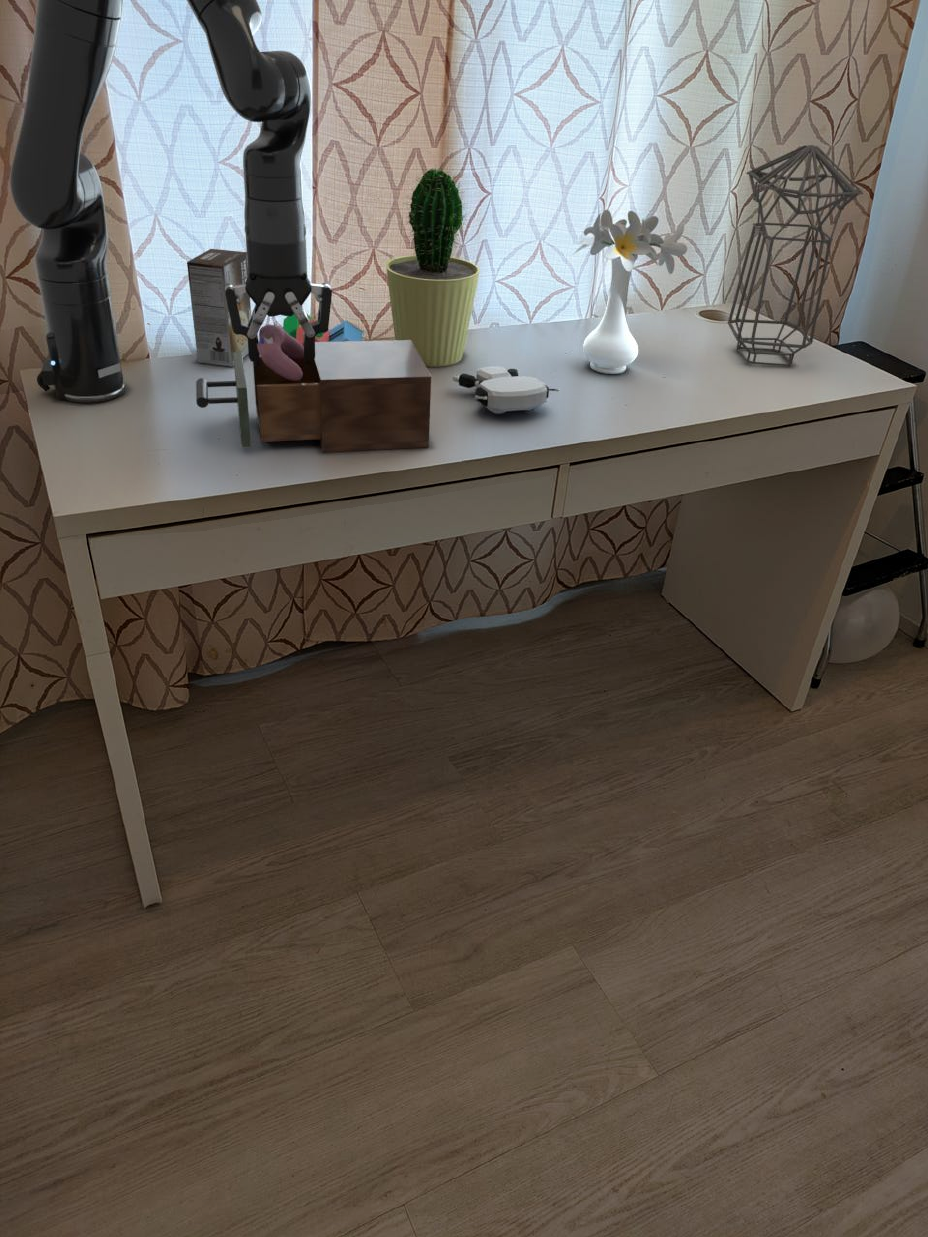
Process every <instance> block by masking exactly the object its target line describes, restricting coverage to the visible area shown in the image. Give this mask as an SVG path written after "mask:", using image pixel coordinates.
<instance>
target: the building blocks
mask: <svg viewBox="0 0 928 1237" xmlns="http://www.w3.org/2000/svg"><path fill="white" fill-rule="evenodd" d="M306 314H307V316H308V318H309V320H310V322H311V323H313V322H316V321H318V318H317V319H316V318H314V316H311V315H310V314H309V313H307V312H306ZM282 328H283V329H284V330H285V331H286V332H287V333H288V334H289V335H290V336H292V337H293V338H294V339H296V340H297V341H298V342H300V343H301V344H302V345H303V347H304V343H303V333H305V332H304V330H303V328H302V326H301V325H300V323H299V321H298V320H297V318H296V316H295V314H294V315H292V316H285V317H284V319H283V322H282ZM364 332H365V331H364V330H363V329H361V328H360V327H359V326H357V325H356V324H354V323H352V322H351V321H349V320H344V321H342V322H340V323H339V324H337V325H335V326H334V327H332V328H331V329H329V328H328V331H327V332H325V333H319V334H317V335H316V336H315V342H343V341H363V335H364V334H363V333H364Z"/></svg>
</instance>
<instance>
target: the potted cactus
mask: <svg viewBox="0 0 928 1237" xmlns="http://www.w3.org/2000/svg"><path fill="white" fill-rule="evenodd" d="M436 166H437V165H434V167H432V168H431V169H428V168H426V166H425V168H426V169H425V170H426V171H425V170H424V169H422V171H423V172H421V171H420V173H421V174H422V175H419V174H417V175H418V176H416V180H413V182H414V183H415V184H416V186H415V189H414V187H412V194H411V197H409V196H406V198H408V199H409V200H411V202H410V204H409V203H406V202H404V205H409V207H407V210H409V211H407V212H405V214H407V215H408V216H406V219H404V220H406V221H407V224H409V225H410V226H411V229H412V230H410V232H409V236H407V238H408V237H409V241H411V242H408V245H411V244H412V245H413V246H414V247H411V250H412V249H413V251H414V252H413V253H412V255H403V256H398V257H395V258H391V259H390V260H388V261H387V262H386V263H385V266H384V267H385V268H386V277H387V286H388V294H389V302H390V310H391V316H392V325H393V332H394V340H411V341H412V343H413V344H414V346H415V348H416V350H417V352H418V353H419V355H420V357H421V359H422V361H423V362H424V364H425V366H426V367H431V368H432V367H435V368H436V367H437V368H438V367H447V366H451V365H455V364H457V363H459V362H460V361H461V360H462V358H463V356H464V351H465V347H466V342H467V337H468V333H469V328H470V322H471V318H472V312H473V307H474V302H475V298H476V292H477V289H478V288H477V287H478V283H479V277H480V276H479V275H480V272H481V270H480V267H479V266H478V265H477V264H475V263H473V262H471V261H469V260H466V259H462V258H459V257H454V256H452V255H453V254H454V253H453V250H454V248H455V249H459V247H457V244H459V243H456V245H455V242H454V241H459V240H458V237H459V234H458V233H457V232H459V231H460V233H461V234H462V235H464V233H463V232H464V229H463V228H462V227H463V226H464V225H465V223H463V221H468V219H467V215H468V214H469V212H466V214H463V211H466V208H467V207H465V206H466V203H465V202H464V203H463V202H462V200H464V198H463V197H464V195H463V194H464V191H462V190H460V188H461V185H460V183H458V185H456V183H457V181H458V179H459V178H457V179H455V180H453V179H454V177H455V176H456V175H457V174H454V175H453V176H452V177H451V175H452V171H453V170H451V171H450V168H449V171H450V172H449V171H448V170H447V171H448V172H447V171H443V169H440V170H439V169H437V168H436ZM462 231H463V232H462ZM410 235H411V237H413V238H410ZM412 241H413V242H412Z"/></svg>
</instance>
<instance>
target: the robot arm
mask: <svg viewBox="0 0 928 1237" xmlns="http://www.w3.org/2000/svg"><path fill="white" fill-rule="evenodd" d="M186 1H187V4H188V6H189V7H190V9H191V11H192V13H193V15H194V16H195V18H196V20H197V23H199V26H200V28H202V30H203V32H204V34H205V37H206V41H207V44H208V48H209V53H210V56H211V59H212V62H213V65H214V69H215V73H216V76H217V79H218V83H219V86H220V88H221V91H222V94H223V96H224V97H225V98H224V99H226V101H227V103H228V104H229V106H230V107H231V108H232V109H233V111H234V112H236V114H238V116H239V117H241V118H243V119H244V120H245V121H248V122H252V123H261V124H260V130H259V134H258V136H257V137H256V138H255V139H254V140H253V141H252V142H250V143H249V144H248V145H246V147H244V150H243V154H242V171H243V186H244V187H243V188H244V210H243V211H244V213H243V214H244V216H243V217H244V233H245V246H246V247H245V248H246V252H247V265H248V278H247V280H246V283H245V284H241V285H232V284H230V283H229V284H226V285H225V295H226V299H227V304H228V309H229V314H230V318H231V323H232V328H233V332H234V333H235V334H237V335H239V334H241V335H244V336H246V337H247V339H248V358H249V361H250V362H253V361H254V363H255V366H260V354H259V351H258V348H257V344H258V343H259V342H260V341H259V331H260V329H261V328H262V326H263V324H264V322H265V320H266V318H267V316H268V317H269V318H270V317H273V318H274V317H278V316H284V317H288V316H292V315H294V314H295V316H296V318H297V320H298V321H299V323H300V325H301V326H302V328H303V330H304V332H305V333H303V343H304V361H305V364H311V360H314V358H315V336H316V335H317V334H319V333H325V332H327V331H328V329H329V327H330V318H331V317H330V316H331V307H332V297H333V290H332V288H331V286H330V283H328V282H322V284H320V283H311V281H310V279H309V277H308V256H307V255H308V254H307V232H308V230H307V228H308V227H307V224H306V211H305V206H304V198H303V194H304V193H303V173H302V172H303V169H302V157H303V153H304V148H305V145H306V140H307V134H308V129H309V128H308V127H309V123H310V117H311V112H312V111H311V110H312V99H313V96H312V95H313V94H312V85H311V79H310V76H309V73H308V71H307V68H306V66H305V65H304V63H303V61H302V60H301V58H299V57H298V56H297V55H295V54H294V53H292V52H290V51H286V50H269V51H260V49H259V48H258V45H257V44H256V41H255V38H254V35H255V34H256V32H257V31H258V30H259V29H260V26H261V25H262V20H263V17H262V11H261V7H260V5H259V3H258V1H257V0H186ZM35 7H36V8H35V15H34V18H35V19H34V30H33V40H32V48H31V54H30V55H31V56H30V61H29V62H30V63H29V72H28V81H27V90H26V91H27V92H26V100H25V106H24V112H23V115H22V116H23V117H22V121H21V126H20V130H19V134H18V139H17V143H16V147H15V150H14V155H13V159H12V163H11V168H10V173H9V190H10V195H11V198H12V201H13V204H14V206H15V208H16V209H17V211H18V213H19V214H20V216H22V218H23V219H24V220H25V221H26V222H28V223H29V224H30V225H32V226H33V227H36V228H38V229H41V230H42V232H41V240H40V243H39V245H38V247H37V249H36V252H35V254H34V266H35V272H36V275H37V276H36V277H37V280H38V282H37V283H38V288H39V292H40V297H41V302H42V309H43V313H44V318H45V323H46V329H47V331H46V334H45V340H46V345H47V351H48V356H49V359H44V361H43V364H42V366H41V370H40V372H39V373H38V375H37V376H36V382H37V385H38V386H39V387H40V388H41V389H42V390H43V391H44V392H48V391H50V390H51V386H54V388H55V393H56V398H57V400H62V401H66V400H67V401H69V402H74V403H86V404H87V403H88V404H89V403H99V402H105V401H110V400H113V399H115V398H118V397H120V396H122V394H124V393H125V391H126V385H125V381H124V374H123V369H122V363H121V356H120V349H119V342H118V335H117V329H116V322H115V314H114V308H113V302H112V301H113V300H112V296H111V289H110V281H109V275H108V268H107V257H108V251H109V235H108V226H107V215H106V207H105V198H104V191H103V187H102V182H101V179H100V176H99V173H98V171H97V169H96V167H95V166H94V164H93V162H92V161H91V160H90V158H89V157H88V156H87V155H86V154H85V153H84V152H82V151H81V148H82V142H83V134H84V132H85V128H86V124H87V122H88V120H89V116H90V114H91V112H92V109H93V107H94V105H95V104H96V101H97V99H98V97H99V95H100V93H101V90H102V89H103V87H104V84H105V82H106V79H107V77H108V75H109V72H110V69H111V66H112V64H113V61H114V56H115V54H116V49H117V43H118V37H119V33H120V32H119V31H120V26H121V20H122V19H121V17H122V12H123V0H36V6H35ZM245 293H247V294H248V295H249V297H250V300H252V302H253V303H254V304H255V305H254V308H253V309H252V311H251V318H250V320H249V322H248V324H246V323H243V322H241V319H240V314H239V309H238V304H237V303H240V302H242V297H243V295H244V294H245ZM311 294H314V299H315V301H316V302H318V312H317V321H316V322H313V323H311V322H310V320H309V318H308V316H309V315H308V316H307V314H308V313H307V312H306V310H305V308H304V306H303V305H304V304H305V302H306V301H307V299H308V298H309V296H310V295H311ZM306 313H307V314H306Z"/></svg>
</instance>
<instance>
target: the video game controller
mask: <svg viewBox="0 0 928 1237" xmlns="http://www.w3.org/2000/svg"><path fill="white" fill-rule="evenodd" d="M258 339H259V343H258V344H257V348H258V351H259V354H260V356H261V358H262V360H263V361H264V363H265V364H266V365H267V366H268V367H269V368H271V370H273V371H274V373H275V374H279V375H281V376H282V377H284V378H286V379H289V380H291V381H299V380H300V379H301V378H302V376H303V373H302V370H301V368H300V367H299V366H298V365H297V364H296V363H295V362H294V361H292V360H291V359H290V358H289V357H291V358H295V359H303V358H304V347H303V345H302V344H301V343H300V342H298V341H297V340H296V339H294V338H293V337H292V336H290V335H289V334H288V333H287V332H286V331H285V330H284V329H283V326H281V325H278V323H277V322H274V324H272V323H268V324H266V325H264V326H263V325H262V326H261V327H260V329H259V331H258ZM286 355H287V356H289V357H287V356H286Z"/></svg>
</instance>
